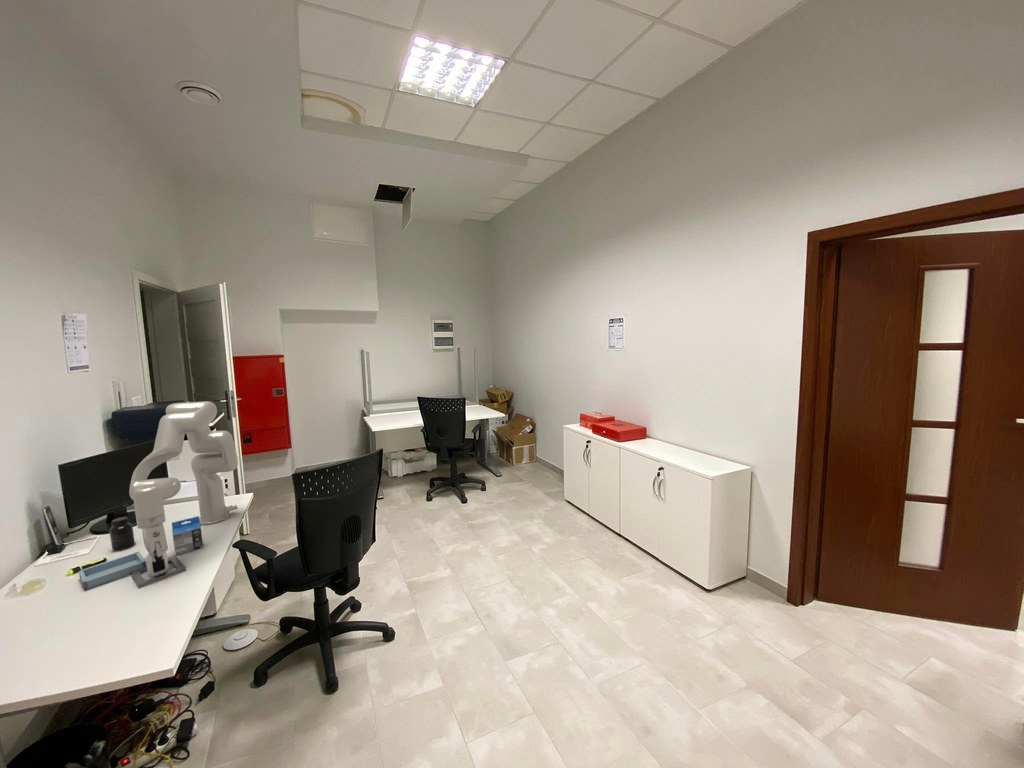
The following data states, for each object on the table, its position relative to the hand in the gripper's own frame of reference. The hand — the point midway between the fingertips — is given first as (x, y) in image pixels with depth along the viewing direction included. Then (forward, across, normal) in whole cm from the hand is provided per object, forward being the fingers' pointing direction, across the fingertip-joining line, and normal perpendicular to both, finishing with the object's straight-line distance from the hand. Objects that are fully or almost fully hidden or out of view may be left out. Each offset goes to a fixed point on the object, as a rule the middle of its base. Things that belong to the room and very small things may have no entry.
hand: (157, 568), depth 147 cm
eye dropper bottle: (+2, 0, 0) cm, 2 cm away
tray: (+2, +13, +10) cm, 16 cm away
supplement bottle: (+2, +37, +4) cm, 37 cm away
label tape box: (+2, +11, -12) cm, 16 cm away
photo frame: (+2, +52, +18) cm, 55 cm away
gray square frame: (+2, 0, 0) cm, 2 cm away
